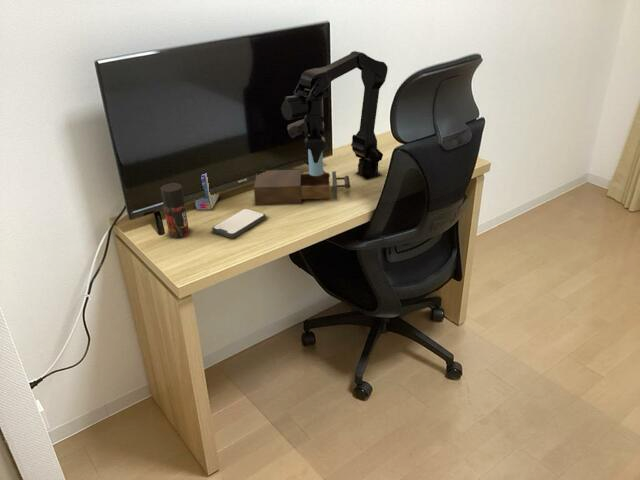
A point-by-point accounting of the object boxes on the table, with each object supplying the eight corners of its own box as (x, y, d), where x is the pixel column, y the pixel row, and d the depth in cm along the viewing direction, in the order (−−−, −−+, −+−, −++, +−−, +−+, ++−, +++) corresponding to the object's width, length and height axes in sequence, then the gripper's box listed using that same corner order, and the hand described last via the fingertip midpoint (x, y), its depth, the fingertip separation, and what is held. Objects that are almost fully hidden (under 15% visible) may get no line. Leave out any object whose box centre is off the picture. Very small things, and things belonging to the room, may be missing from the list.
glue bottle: (318, 169, 192) (317, 135, 186) (325, 173, 188) (324, 139, 182) (306, 172, 190) (304, 138, 184) (313, 177, 186) (312, 142, 180)
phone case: (245, 212, 183) (210, 232, 171) (245, 207, 182) (210, 227, 171) (267, 218, 179) (233, 239, 167) (267, 214, 178) (232, 235, 166)
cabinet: (301, 186, 198) (301, 169, 195) (301, 203, 186) (300, 185, 183) (258, 187, 198) (257, 170, 195) (255, 205, 186) (253, 187, 183)
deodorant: (171, 228, 174) (163, 183, 167) (191, 228, 174) (183, 182, 167) (166, 238, 169) (158, 191, 162) (186, 238, 169) (178, 191, 161)
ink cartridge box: (203, 196, 193) (197, 155, 186) (219, 196, 193) (214, 156, 185) (194, 209, 185) (188, 167, 178) (211, 210, 184) (205, 168, 177)
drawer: (348, 183, 197) (348, 170, 195) (350, 198, 186) (350, 185, 184) (295, 185, 197) (294, 172, 195) (294, 200, 186) (293, 187, 184)
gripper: (288, 104, 187) (291, 150, 195) (287, 123, 171) (290, 172, 179) (323, 103, 187) (324, 149, 195) (324, 122, 171) (325, 171, 179)
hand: (315, 159), depth 187 cm, fingers closed on glue bottle, 4 cm apart
